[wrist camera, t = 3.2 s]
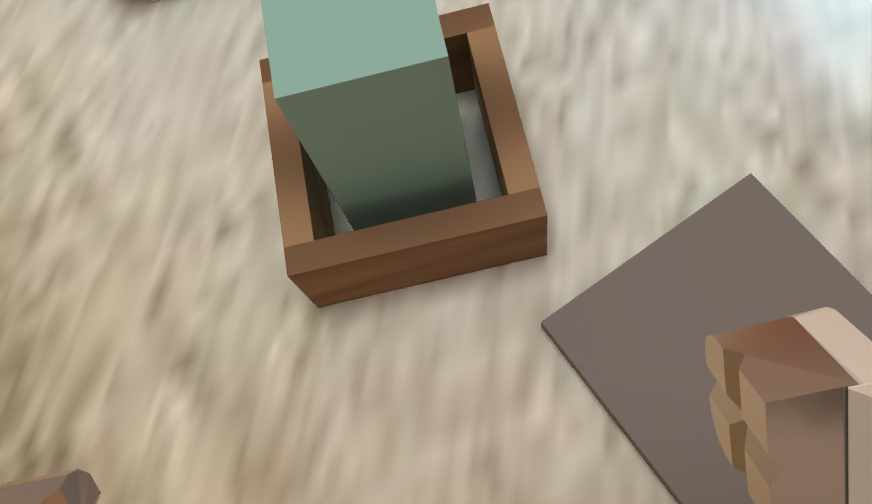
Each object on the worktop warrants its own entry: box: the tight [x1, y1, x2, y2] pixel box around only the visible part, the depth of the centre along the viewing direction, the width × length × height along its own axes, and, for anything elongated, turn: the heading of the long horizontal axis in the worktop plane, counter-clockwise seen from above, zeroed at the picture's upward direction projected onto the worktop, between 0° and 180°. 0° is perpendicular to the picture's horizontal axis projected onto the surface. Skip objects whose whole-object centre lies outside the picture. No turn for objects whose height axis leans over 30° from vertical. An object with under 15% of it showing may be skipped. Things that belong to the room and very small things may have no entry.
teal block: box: [261, 0, 476, 231], centre depth 24 cm, size 4×4×10 cm
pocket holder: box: [260, 3, 547, 307], centre depth 27 cm, size 8×8×4 cm
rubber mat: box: [541, 174, 872, 504], centre depth 24 cm, size 9×9×1 cm
